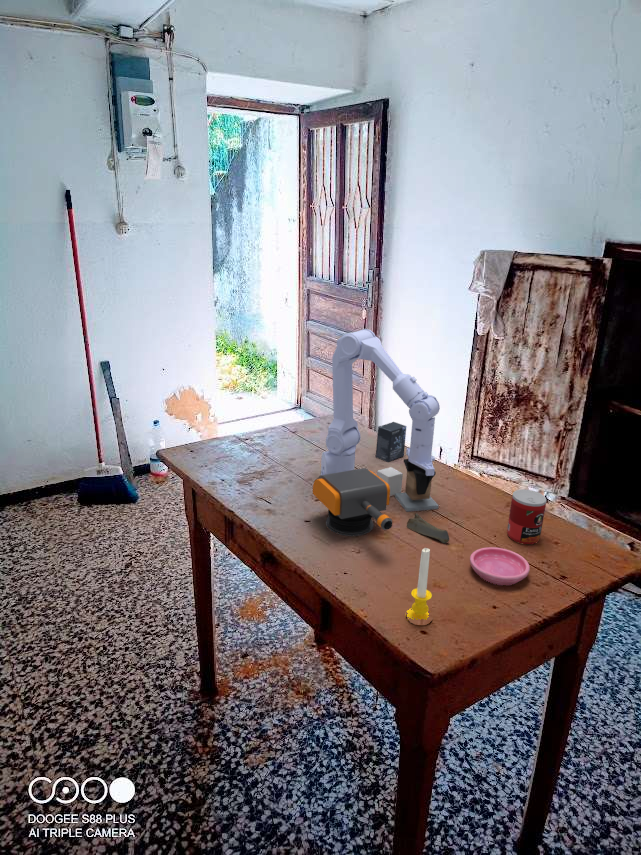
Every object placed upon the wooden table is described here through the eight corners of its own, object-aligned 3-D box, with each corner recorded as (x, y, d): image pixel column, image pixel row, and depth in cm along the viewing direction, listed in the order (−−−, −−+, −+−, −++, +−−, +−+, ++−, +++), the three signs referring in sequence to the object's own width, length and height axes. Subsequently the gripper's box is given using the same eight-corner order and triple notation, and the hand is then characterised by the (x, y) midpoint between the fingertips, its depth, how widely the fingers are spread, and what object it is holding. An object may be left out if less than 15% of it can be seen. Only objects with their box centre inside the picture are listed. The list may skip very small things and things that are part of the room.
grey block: (387, 496, 164) (388, 477, 161) (376, 490, 167) (377, 470, 165) (401, 492, 166) (402, 473, 164) (389, 486, 170) (391, 467, 168)
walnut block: (412, 500, 157) (414, 479, 155) (405, 491, 162) (406, 471, 160) (429, 498, 158) (431, 478, 156) (422, 490, 163) (424, 470, 161)
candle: (405, 624, 112) (411, 553, 107) (406, 607, 117) (412, 538, 112) (432, 628, 112) (441, 556, 106) (432, 611, 117) (440, 541, 111)
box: (388, 462, 186) (391, 431, 183) (375, 457, 190) (377, 426, 186) (404, 456, 191) (407, 425, 188) (391, 451, 195) (393, 421, 192)
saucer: (457, 564, 133) (458, 552, 132) (501, 553, 138) (503, 542, 137) (493, 596, 122) (495, 582, 121) (540, 583, 127) (542, 570, 126)
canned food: (523, 548, 140) (530, 506, 136) (499, 532, 146) (505, 492, 143) (546, 541, 143) (554, 500, 139) (522, 526, 150) (528, 486, 146)
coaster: (406, 511, 155) (406, 508, 155) (394, 496, 164) (394, 493, 163) (438, 508, 157) (438, 505, 157) (424, 493, 166) (425, 490, 165)
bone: (402, 525, 149) (403, 512, 148) (418, 521, 152) (419, 508, 150) (436, 549, 139) (437, 536, 138) (452, 545, 141) (454, 531, 140)
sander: (357, 566, 131) (360, 515, 126) (310, 516, 152) (311, 470, 147) (413, 552, 137) (418, 503, 132) (361, 506, 158) (363, 462, 153)
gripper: (447, 451, 149) (442, 500, 154) (424, 431, 162) (420, 477, 167) (421, 453, 147) (416, 502, 152) (400, 433, 161) (397, 479, 165)
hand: (417, 489), depth 159 cm, fingers closed on walnut block, 5 cm apart
